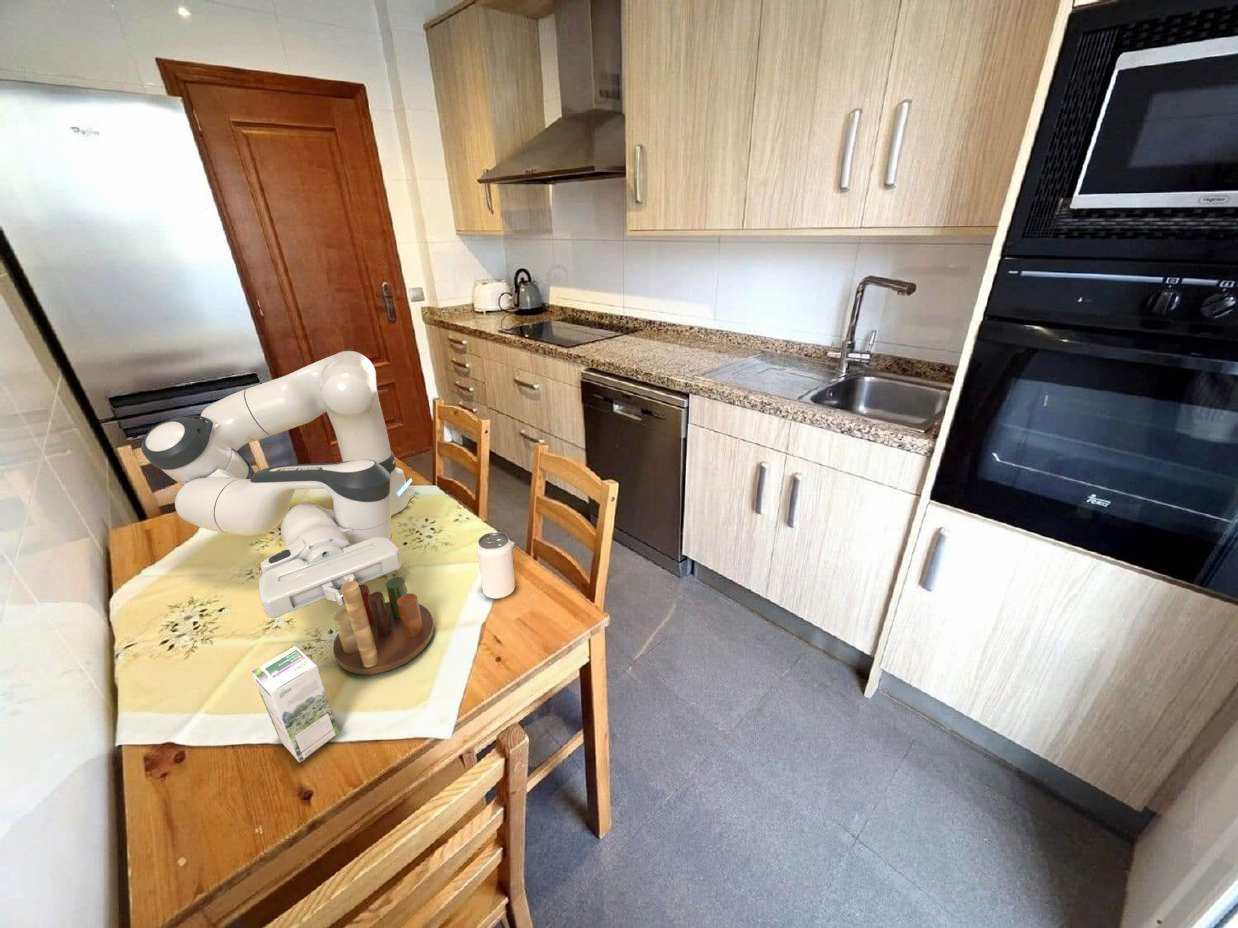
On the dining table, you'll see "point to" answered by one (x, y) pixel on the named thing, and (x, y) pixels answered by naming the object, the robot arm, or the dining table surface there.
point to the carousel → (380, 628)
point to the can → (496, 565)
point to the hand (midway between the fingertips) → (347, 599)
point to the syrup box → (296, 702)
